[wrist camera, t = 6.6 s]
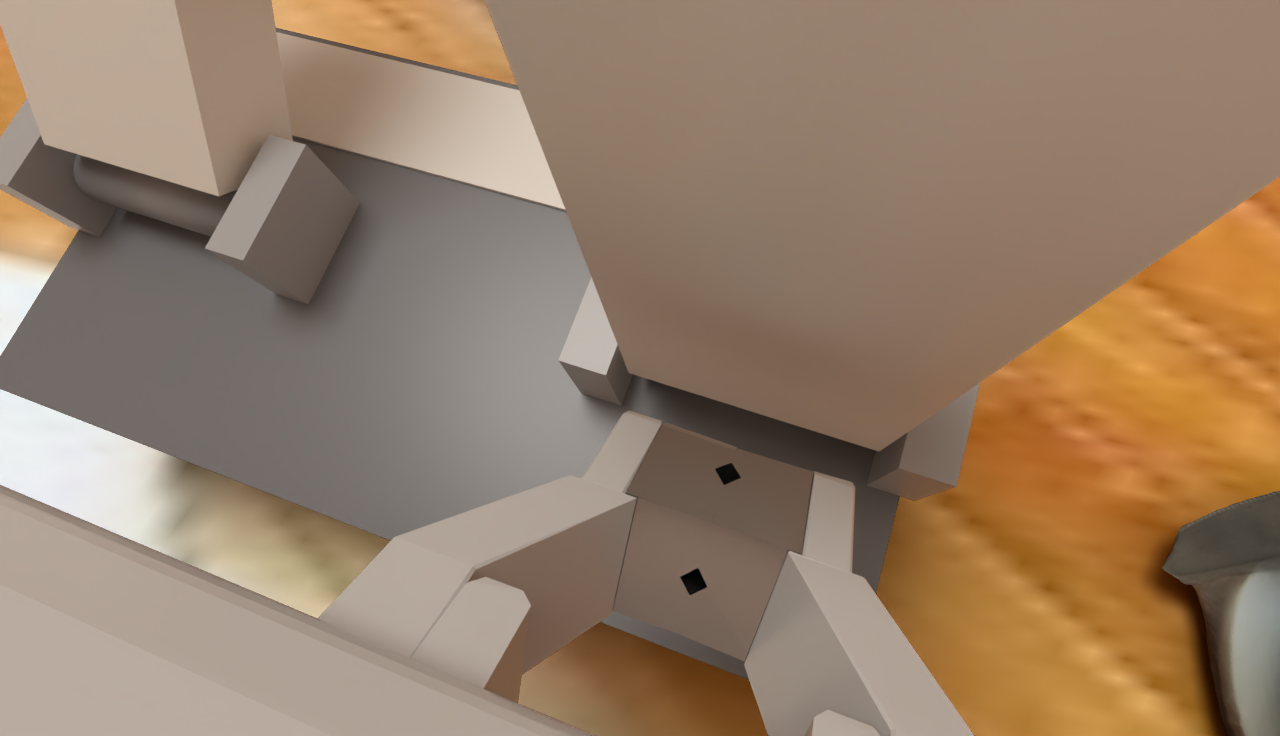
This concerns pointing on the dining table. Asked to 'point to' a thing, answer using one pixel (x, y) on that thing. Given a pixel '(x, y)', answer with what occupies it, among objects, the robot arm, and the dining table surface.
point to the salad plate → (1238, 607)
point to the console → (385, 320)
